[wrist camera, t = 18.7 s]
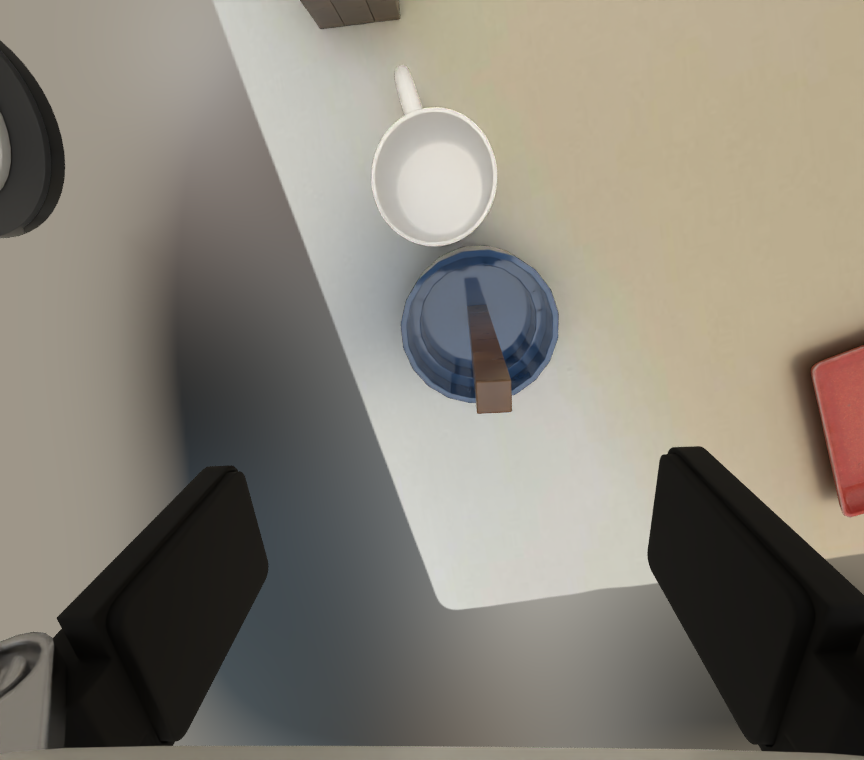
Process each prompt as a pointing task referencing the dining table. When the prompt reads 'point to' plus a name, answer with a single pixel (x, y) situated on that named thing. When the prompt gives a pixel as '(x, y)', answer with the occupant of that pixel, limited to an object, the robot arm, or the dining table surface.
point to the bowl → (448, 319)
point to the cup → (432, 171)
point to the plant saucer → (843, 423)
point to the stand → (351, 11)
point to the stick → (488, 364)
